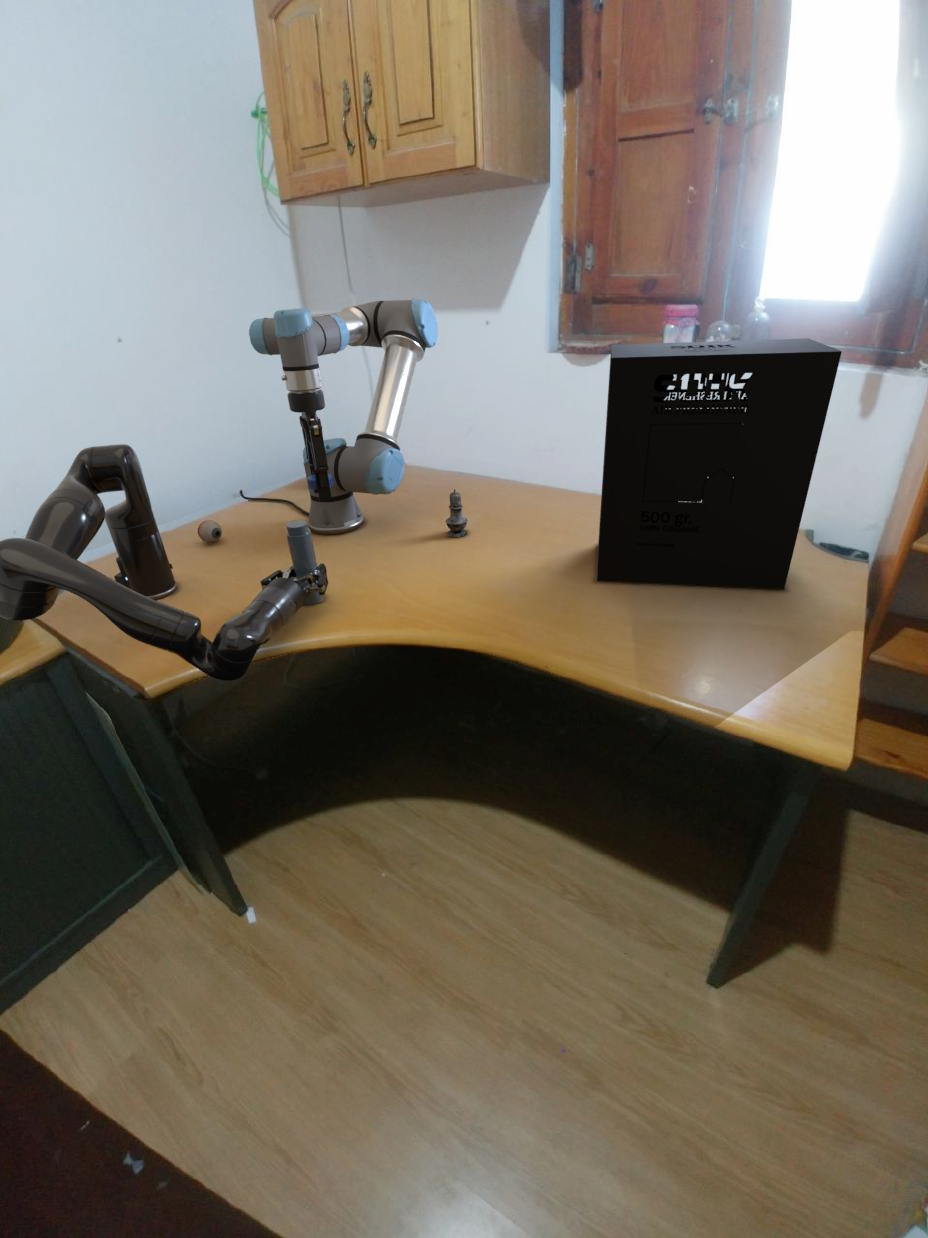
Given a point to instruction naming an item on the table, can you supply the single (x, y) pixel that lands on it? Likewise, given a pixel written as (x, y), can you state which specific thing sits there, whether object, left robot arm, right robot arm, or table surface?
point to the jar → (302, 554)
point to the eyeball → (209, 531)
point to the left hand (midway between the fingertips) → (311, 567)
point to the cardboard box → (710, 460)
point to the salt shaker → (456, 516)
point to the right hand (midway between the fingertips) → (322, 495)
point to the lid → (312, 481)
